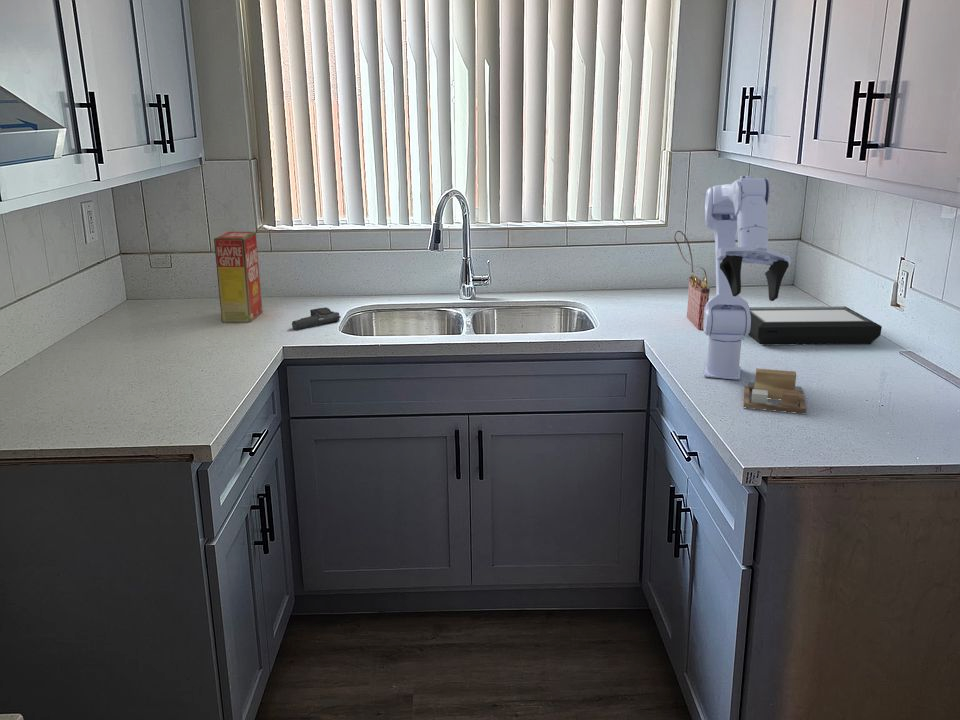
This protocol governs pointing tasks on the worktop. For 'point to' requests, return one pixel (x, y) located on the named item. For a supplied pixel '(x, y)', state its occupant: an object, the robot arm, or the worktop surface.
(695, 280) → the handbag
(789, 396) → the offcut dark
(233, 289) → the food packaging
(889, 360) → the worktop surface
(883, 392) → the worktop surface
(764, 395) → the offcut grey
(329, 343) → the worktop surface
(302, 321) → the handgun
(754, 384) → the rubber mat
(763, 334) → the electronic device
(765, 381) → the oak board
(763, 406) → the frame
